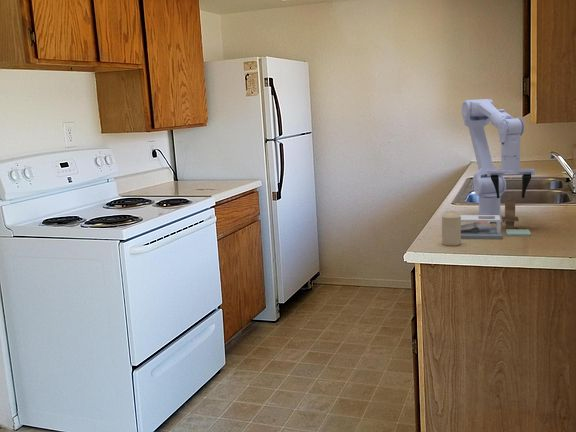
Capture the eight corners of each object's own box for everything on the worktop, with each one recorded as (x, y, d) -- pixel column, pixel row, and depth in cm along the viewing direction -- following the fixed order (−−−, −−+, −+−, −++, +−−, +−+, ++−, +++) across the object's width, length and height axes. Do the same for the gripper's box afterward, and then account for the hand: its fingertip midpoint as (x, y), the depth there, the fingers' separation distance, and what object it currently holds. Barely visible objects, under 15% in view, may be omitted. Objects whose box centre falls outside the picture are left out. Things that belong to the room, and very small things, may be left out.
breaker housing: (450, 229, 205) (450, 213, 204) (500, 229, 200) (500, 213, 199) (448, 238, 192) (448, 221, 191) (502, 239, 187) (502, 221, 186)
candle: (441, 245, 183) (440, 213, 182) (443, 241, 188) (443, 209, 187) (459, 246, 181) (459, 213, 180) (461, 242, 186) (461, 209, 185)
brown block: (501, 227, 204) (501, 198, 202) (517, 227, 202) (517, 198, 201) (502, 230, 199) (502, 201, 197) (518, 230, 198) (518, 201, 196)
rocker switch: (461, 227, 199) (460, 224, 199) (489, 222, 196) (489, 219, 196) (461, 230, 195) (460, 227, 195) (490, 225, 192) (489, 221, 192)
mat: (505, 231, 198) (505, 229, 197) (528, 231, 195) (528, 229, 195) (506, 235, 191) (506, 233, 191) (530, 236, 189) (530, 234, 189)
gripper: (487, 157, 195) (487, 199, 197) (536, 156, 191) (535, 199, 193) (486, 156, 201) (486, 196, 204) (533, 154, 197) (533, 195, 199)
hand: (510, 197), depth 199 cm, fingers open, 7 cm apart
